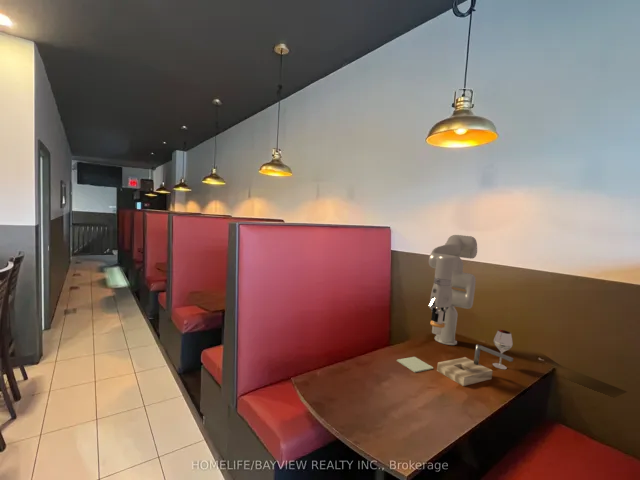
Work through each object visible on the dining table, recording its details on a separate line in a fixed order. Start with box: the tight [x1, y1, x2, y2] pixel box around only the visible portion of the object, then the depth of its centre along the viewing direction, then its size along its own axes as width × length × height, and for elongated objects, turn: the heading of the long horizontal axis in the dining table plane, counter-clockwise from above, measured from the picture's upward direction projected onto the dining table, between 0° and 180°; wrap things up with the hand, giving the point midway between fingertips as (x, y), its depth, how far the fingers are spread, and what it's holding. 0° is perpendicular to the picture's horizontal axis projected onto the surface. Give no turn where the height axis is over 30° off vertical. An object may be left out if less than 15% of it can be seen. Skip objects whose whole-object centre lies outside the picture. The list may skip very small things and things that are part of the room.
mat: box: [396, 356, 434, 373], centre depth 148 cm, size 12×12×1 cm
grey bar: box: [473, 344, 514, 365], centre depth 140 cm, size 16×2×9 cm, turn 34°
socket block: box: [436, 356, 494, 387], centre depth 143 cm, size 14×20×4 cm
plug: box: [430, 309, 445, 336], centre depth 144 cm, size 6×6×11 cm
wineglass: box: [492, 329, 513, 370], centre depth 156 cm, size 8×8×18 cm
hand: (437, 320), depth 144 cm, fingers closed on plug, 4 cm apart
